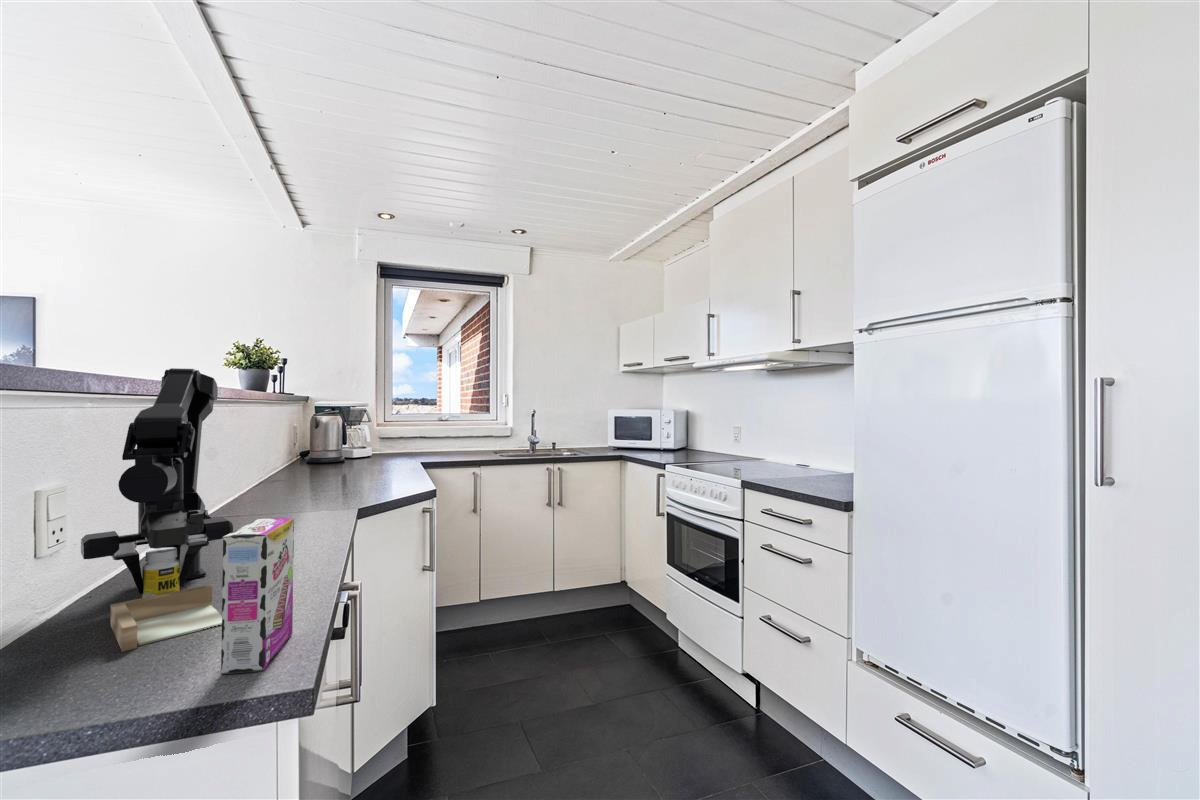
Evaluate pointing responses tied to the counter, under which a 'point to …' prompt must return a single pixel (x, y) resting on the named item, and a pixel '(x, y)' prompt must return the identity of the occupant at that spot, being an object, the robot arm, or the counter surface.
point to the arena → (163, 616)
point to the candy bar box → (256, 594)
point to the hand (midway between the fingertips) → (161, 589)
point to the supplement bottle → (161, 572)
